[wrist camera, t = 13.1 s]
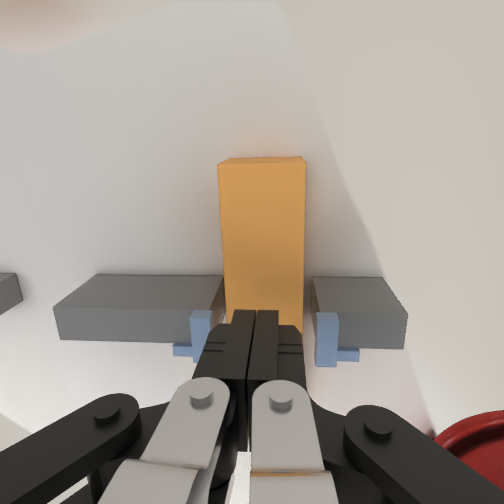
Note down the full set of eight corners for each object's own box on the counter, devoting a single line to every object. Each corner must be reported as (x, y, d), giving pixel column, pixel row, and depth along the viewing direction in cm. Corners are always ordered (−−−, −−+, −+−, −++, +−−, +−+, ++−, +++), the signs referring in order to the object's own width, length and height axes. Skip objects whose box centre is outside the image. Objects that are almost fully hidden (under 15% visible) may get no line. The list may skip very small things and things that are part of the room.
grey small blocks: (-32, 307, 24) (-114, 352, 19) (-43, 273, 23) (-131, 311, 18) (378, 315, 22) (407, 369, 17) (382, 277, 21) (414, 322, 16)
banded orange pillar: (239, 389, 25) (230, 439, 21) (227, 158, 19) (212, 165, 15) (299, 391, 24) (303, 443, 20) (303, 156, 19) (309, 162, 15)
